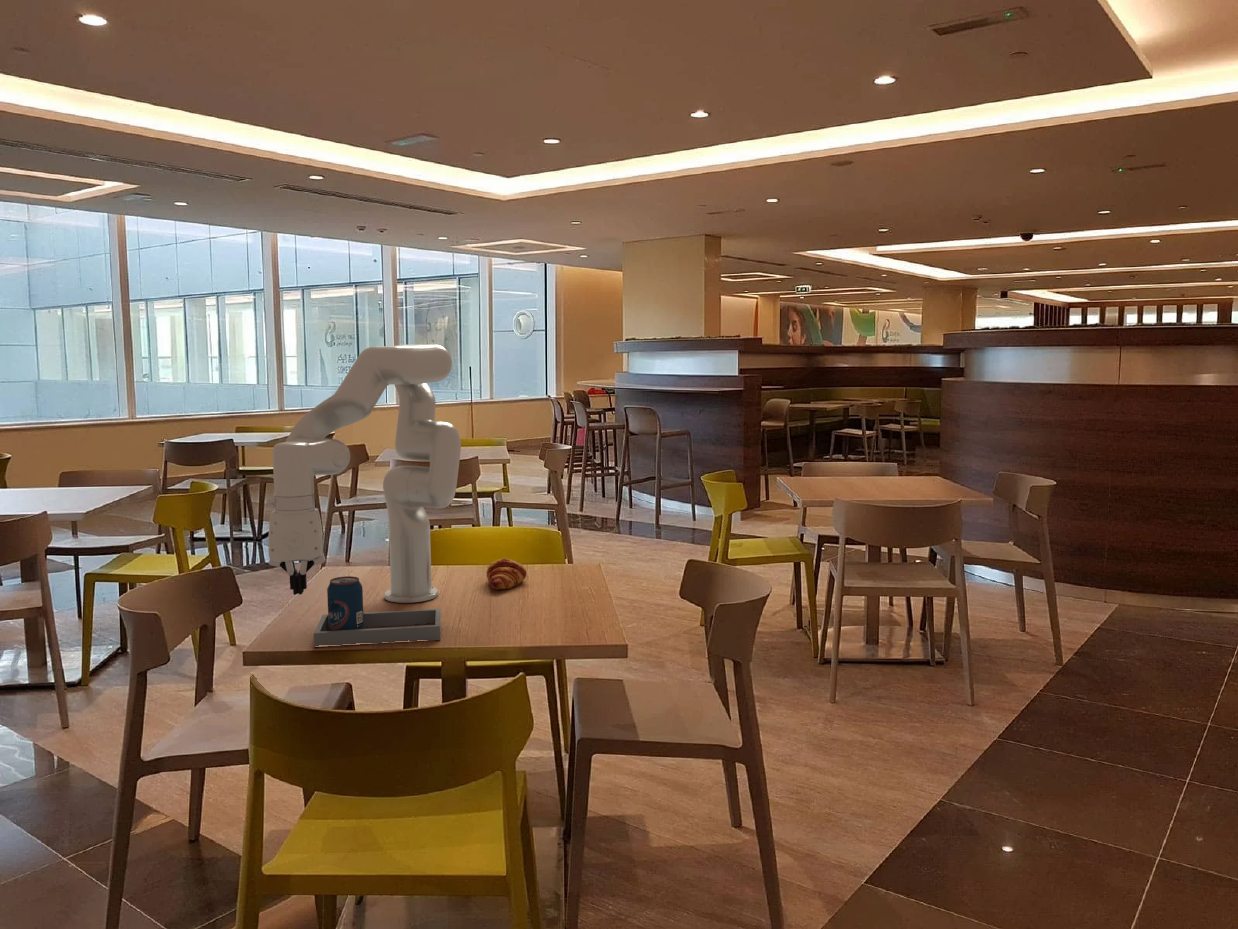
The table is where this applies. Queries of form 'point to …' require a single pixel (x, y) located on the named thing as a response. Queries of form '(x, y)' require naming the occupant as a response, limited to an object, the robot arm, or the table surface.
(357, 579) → the soda can
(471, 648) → the table surface
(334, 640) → the plastic frame
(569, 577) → the table surface
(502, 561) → the croissant
